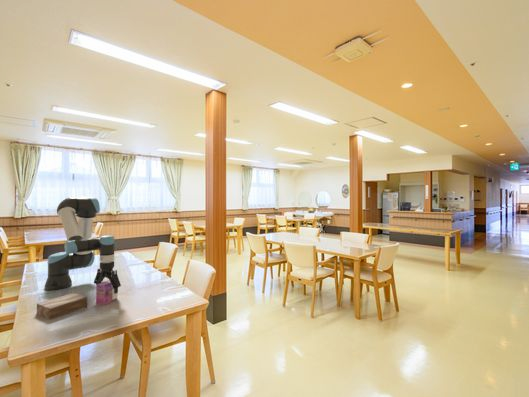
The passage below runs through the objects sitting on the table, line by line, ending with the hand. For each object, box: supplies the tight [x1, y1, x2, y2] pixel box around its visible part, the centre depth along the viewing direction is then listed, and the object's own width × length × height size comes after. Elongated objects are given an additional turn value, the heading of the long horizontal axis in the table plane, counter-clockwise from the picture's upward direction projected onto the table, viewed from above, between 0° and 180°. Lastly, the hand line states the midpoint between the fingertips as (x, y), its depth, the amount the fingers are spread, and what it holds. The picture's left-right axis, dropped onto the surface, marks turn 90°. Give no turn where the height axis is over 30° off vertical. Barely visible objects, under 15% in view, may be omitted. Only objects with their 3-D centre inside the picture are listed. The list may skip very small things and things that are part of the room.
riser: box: [36, 292, 88, 320], centre depth 146 cm, size 14×18×6 cm
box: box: [95, 279, 118, 306], centre depth 158 cm, size 10×6×12 cm, turn 168°
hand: (107, 297), depth 158 cm, fingers open, 13 cm apart
